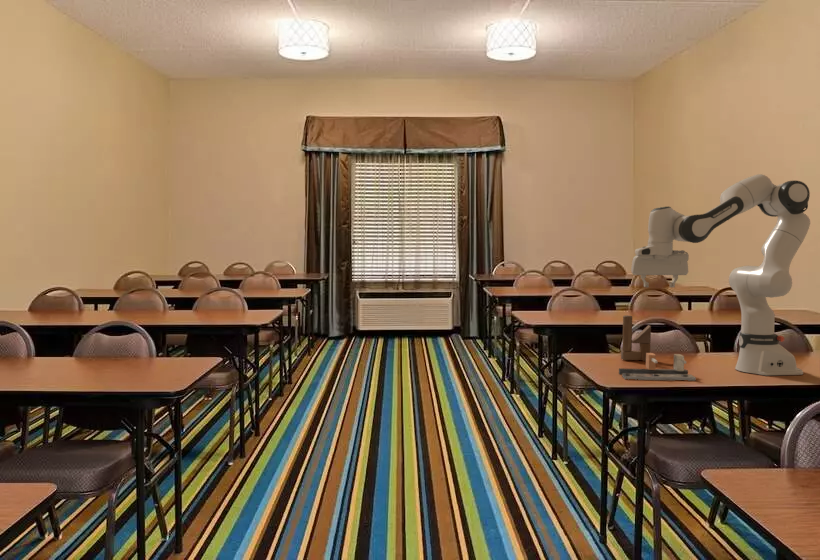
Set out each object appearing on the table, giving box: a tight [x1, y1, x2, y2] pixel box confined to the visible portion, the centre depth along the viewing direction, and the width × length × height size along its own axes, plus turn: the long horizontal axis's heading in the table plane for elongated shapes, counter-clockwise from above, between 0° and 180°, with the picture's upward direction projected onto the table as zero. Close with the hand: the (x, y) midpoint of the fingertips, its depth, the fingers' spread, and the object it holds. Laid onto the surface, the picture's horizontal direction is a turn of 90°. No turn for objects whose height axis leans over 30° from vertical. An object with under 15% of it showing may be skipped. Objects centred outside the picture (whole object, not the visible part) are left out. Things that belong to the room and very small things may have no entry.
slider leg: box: [645, 352, 658, 370], centre depth 253 cm, size 2×10×5 cm, turn 175°
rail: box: [618, 353, 689, 375], centre depth 253 cm, size 24×10×7 cm, turn 85°
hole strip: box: [621, 373, 697, 382], centre depth 249 cm, size 24×5×1 cm, turn 85°
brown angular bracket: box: [620, 315, 652, 362], centre depth 283 cm, size 4×11×18 cm, turn 84°
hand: (659, 287), depth 264 cm, fingers open, 8 cm apart
